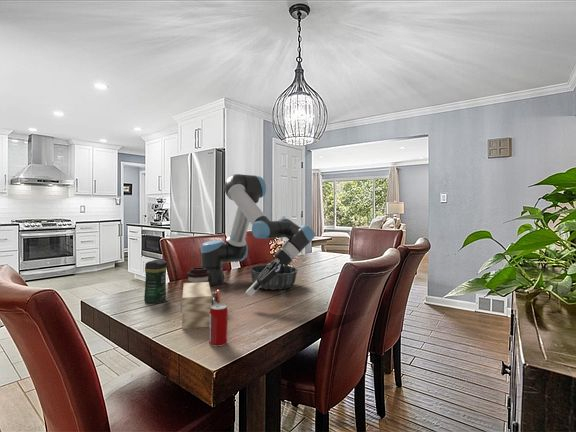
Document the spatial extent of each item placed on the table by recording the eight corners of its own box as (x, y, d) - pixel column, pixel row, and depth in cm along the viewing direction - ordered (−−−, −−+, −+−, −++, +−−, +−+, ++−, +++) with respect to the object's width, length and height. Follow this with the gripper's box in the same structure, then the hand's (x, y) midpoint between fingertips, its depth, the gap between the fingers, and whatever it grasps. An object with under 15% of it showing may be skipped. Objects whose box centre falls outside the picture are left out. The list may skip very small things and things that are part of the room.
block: (208, 307, 134) (208, 281, 134) (211, 326, 113) (211, 295, 113) (183, 309, 131) (183, 283, 131) (182, 329, 110) (182, 297, 110)
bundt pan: (307, 287, 174) (308, 269, 173) (272, 295, 155) (272, 275, 155) (275, 279, 192) (275, 262, 192) (239, 285, 173) (240, 267, 173)
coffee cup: (182, 301, 142) (182, 268, 142) (201, 297, 150) (202, 265, 149) (193, 306, 136) (194, 271, 135) (213, 301, 143) (214, 268, 142)
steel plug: (214, 310, 122) (214, 295, 121) (215, 314, 116) (215, 299, 116) (180, 312, 118) (181, 297, 118) (180, 317, 113) (180, 301, 113)
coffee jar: (158, 304, 137) (159, 261, 137) (141, 303, 138) (141, 261, 138) (169, 298, 147) (169, 258, 147) (152, 297, 148) (153, 257, 147)
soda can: (229, 344, 99) (230, 306, 98) (213, 348, 96) (213, 309, 95) (222, 338, 103) (223, 301, 103) (206, 342, 100) (206, 304, 100)
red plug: (218, 301, 133) (219, 288, 133) (220, 305, 128) (220, 291, 127) (188, 303, 129) (188, 289, 129) (188, 307, 124) (188, 293, 124)
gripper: (297, 262, 133) (257, 304, 128) (287, 257, 145) (251, 295, 141) (285, 250, 131) (244, 292, 127) (277, 246, 144) (239, 284, 139)
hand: (248, 294), depth 134 cm, fingers closed
